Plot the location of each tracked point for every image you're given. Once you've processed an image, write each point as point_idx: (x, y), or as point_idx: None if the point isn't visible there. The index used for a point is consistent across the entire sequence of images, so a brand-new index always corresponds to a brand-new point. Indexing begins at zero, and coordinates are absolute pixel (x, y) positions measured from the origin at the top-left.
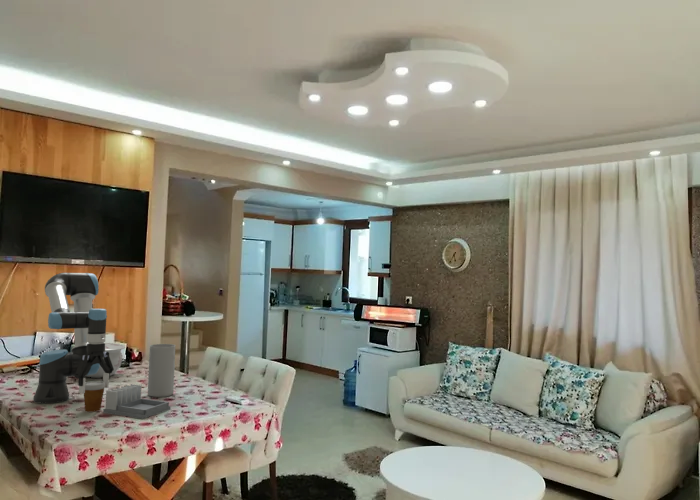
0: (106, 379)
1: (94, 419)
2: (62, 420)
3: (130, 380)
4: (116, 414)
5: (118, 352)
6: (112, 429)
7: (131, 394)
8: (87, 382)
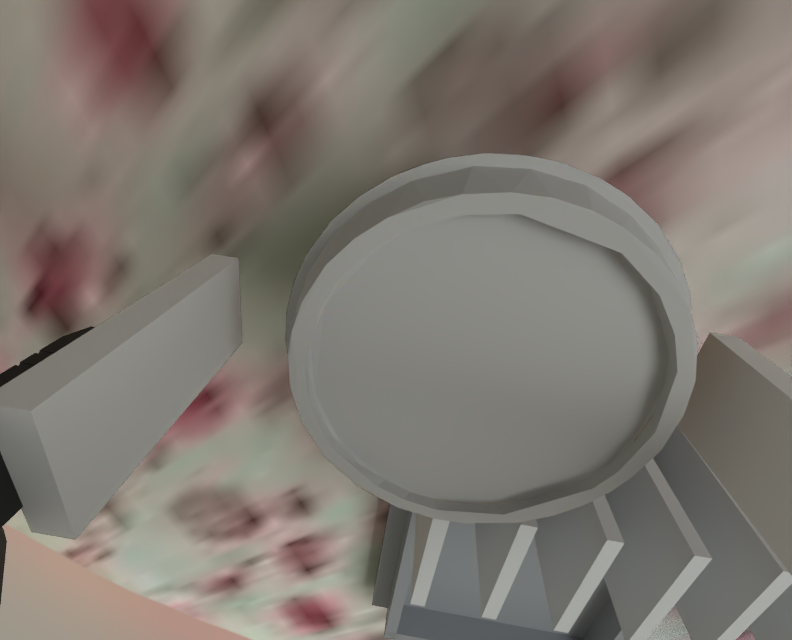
0: (768, 504)
1: (248, 398)
2: (105, 216)
3: None
4: None
5: None
6: (168, 546)
7: (607, 572)
8: (537, 209)
